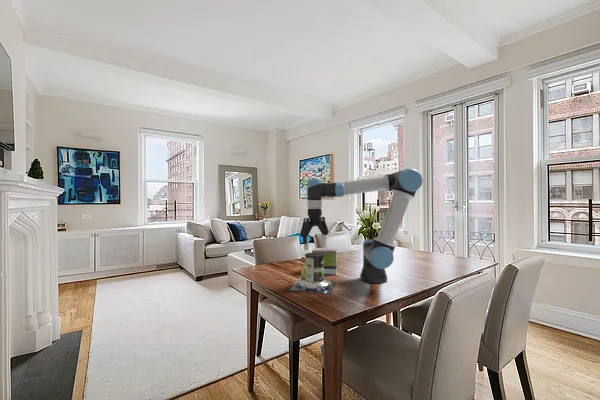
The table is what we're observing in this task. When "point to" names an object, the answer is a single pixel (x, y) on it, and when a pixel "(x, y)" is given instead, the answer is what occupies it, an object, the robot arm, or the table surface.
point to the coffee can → (314, 267)
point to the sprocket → (313, 286)
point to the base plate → (324, 291)
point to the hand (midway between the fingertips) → (315, 248)
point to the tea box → (328, 259)
